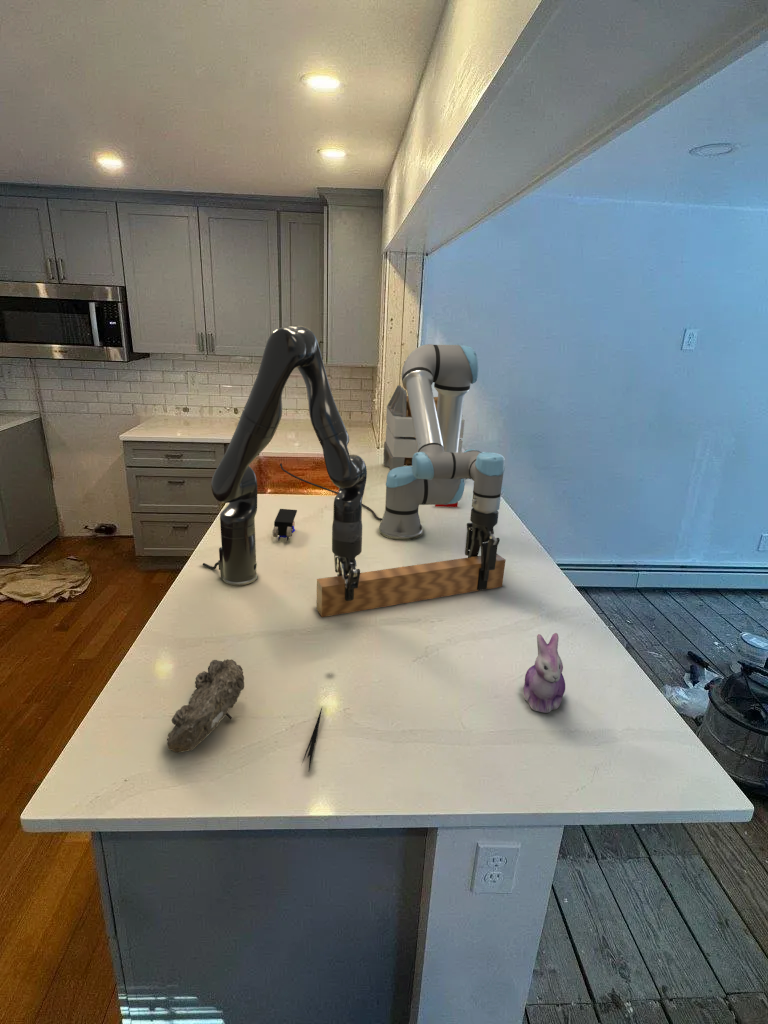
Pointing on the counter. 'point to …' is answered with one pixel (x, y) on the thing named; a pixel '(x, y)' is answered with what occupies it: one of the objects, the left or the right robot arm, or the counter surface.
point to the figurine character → (284, 523)
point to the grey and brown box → (403, 431)
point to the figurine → (545, 677)
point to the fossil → (206, 705)
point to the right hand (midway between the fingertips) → (476, 584)
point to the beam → (405, 585)
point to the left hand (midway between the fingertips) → (345, 595)
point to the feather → (313, 740)
